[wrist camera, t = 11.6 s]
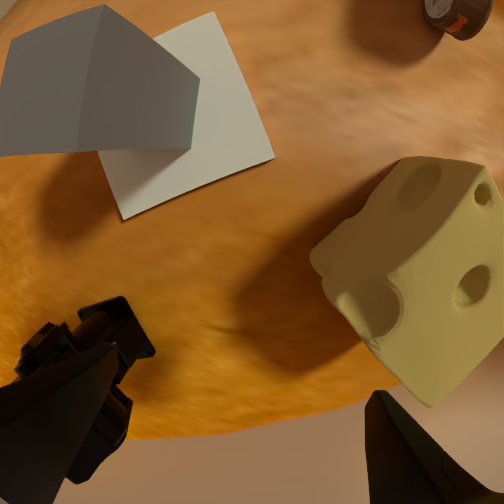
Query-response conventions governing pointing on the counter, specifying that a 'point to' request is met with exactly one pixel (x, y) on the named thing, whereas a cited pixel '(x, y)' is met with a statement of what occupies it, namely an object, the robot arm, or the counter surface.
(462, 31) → the tin
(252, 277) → the counter surface
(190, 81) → the block
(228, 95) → the tile
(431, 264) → the cheese
